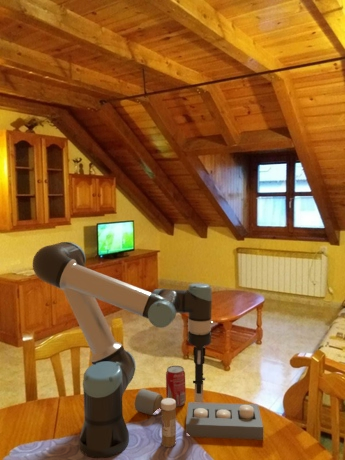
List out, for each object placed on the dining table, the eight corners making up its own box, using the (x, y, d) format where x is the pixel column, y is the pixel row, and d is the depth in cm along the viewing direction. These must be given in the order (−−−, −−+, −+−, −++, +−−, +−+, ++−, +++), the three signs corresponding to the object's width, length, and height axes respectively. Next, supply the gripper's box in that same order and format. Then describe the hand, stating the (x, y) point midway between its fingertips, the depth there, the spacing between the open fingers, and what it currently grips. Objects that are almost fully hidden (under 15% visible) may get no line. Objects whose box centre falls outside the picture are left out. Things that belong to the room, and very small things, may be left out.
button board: (186, 436, 124) (185, 424, 124) (188, 413, 138) (188, 402, 138) (263, 439, 122) (263, 427, 121) (257, 415, 136) (257, 404, 135)
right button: (239, 420, 127) (239, 411, 127) (238, 413, 131) (238, 404, 131) (254, 421, 126) (254, 412, 126) (252, 413, 131) (252, 404, 131)
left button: (193, 424, 128) (193, 415, 128) (194, 416, 133) (194, 407, 133) (207, 424, 128) (207, 415, 128) (207, 417, 132) (207, 408, 132)
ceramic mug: (155, 420, 134) (154, 398, 133) (134, 415, 137) (134, 393, 137) (168, 406, 143) (168, 385, 143) (148, 401, 147) (148, 381, 146)
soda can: (189, 401, 146) (188, 367, 146) (179, 409, 140) (178, 374, 140) (173, 396, 150) (172, 363, 149) (162, 404, 144) (162, 370, 143)
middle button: (216, 425, 128) (216, 416, 127) (216, 417, 132) (216, 409, 132) (230, 426, 127) (230, 417, 127) (230, 418, 132) (230, 409, 132)
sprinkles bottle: (158, 443, 121) (157, 400, 120) (169, 437, 124) (168, 395, 123) (168, 450, 117) (167, 406, 116) (179, 443, 120) (178, 400, 120)
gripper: (211, 338, 122) (210, 411, 123) (211, 325, 135) (210, 392, 136) (187, 337, 122) (186, 410, 124) (189, 324, 135) (188, 391, 137)
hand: (198, 400), depth 130 cm, fingers closed
